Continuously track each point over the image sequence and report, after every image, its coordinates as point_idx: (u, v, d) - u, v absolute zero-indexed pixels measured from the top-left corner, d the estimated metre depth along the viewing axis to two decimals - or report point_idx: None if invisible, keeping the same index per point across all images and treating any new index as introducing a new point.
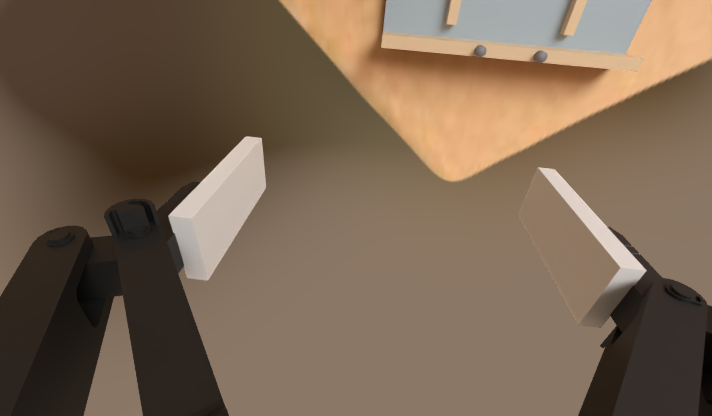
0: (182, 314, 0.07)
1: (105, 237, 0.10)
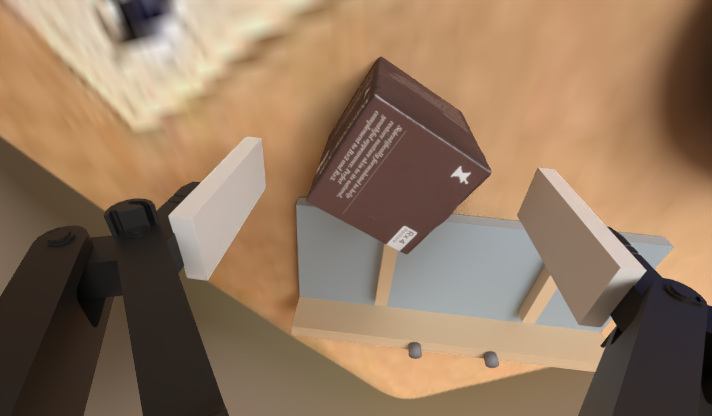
0: (182, 314, 0.07)
1: (105, 237, 0.10)
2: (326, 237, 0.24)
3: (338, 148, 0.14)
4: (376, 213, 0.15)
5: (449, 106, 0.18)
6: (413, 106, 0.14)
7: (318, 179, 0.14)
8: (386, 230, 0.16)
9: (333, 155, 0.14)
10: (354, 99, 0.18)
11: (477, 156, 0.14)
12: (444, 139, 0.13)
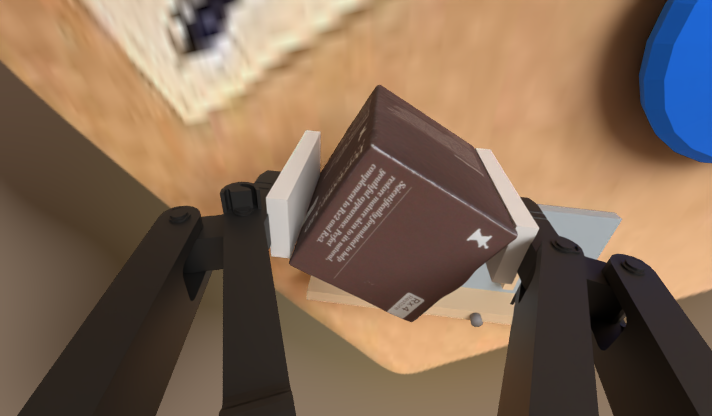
0: (267, 293, 0.08)
1: (210, 216, 0.11)
2: None
3: (326, 206, 0.11)
4: (374, 278, 0.12)
5: (460, 141, 0.15)
6: (419, 153, 0.11)
7: (303, 240, 0.12)
8: (386, 297, 0.13)
9: (320, 213, 0.11)
10: (348, 134, 0.15)
11: (499, 214, 0.11)
12: (459, 196, 0.10)
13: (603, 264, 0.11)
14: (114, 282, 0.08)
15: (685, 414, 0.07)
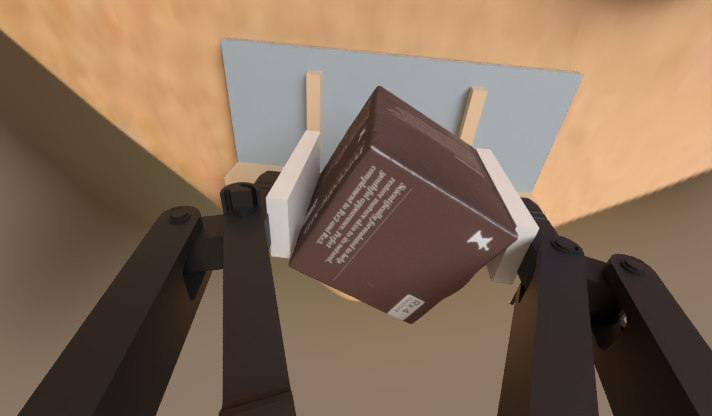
0: (267, 293, 0.08)
1: (210, 217, 0.11)
2: (254, 81, 0.25)
3: (326, 207, 0.11)
4: (374, 280, 0.12)
5: (460, 142, 0.15)
6: (419, 155, 0.11)
7: (302, 241, 0.12)
8: (386, 298, 0.13)
9: (320, 215, 0.11)
10: (348, 135, 0.15)
11: (500, 216, 0.11)
12: (459, 198, 0.10)
13: (603, 264, 0.11)
14: (114, 282, 0.08)
15: (685, 414, 0.07)
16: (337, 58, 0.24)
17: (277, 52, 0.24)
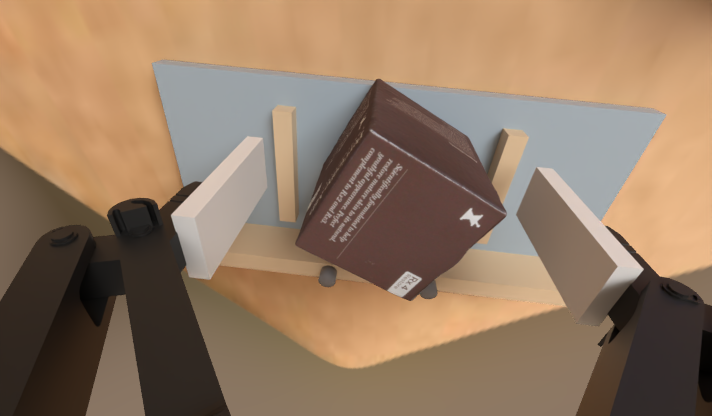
0: (184, 314, 0.07)
1: (108, 236, 0.10)
2: (203, 118, 0.18)
3: (329, 188, 0.12)
4: (374, 258, 0.13)
5: (455, 132, 0.16)
6: (415, 139, 0.12)
7: (308, 221, 0.13)
8: (386, 276, 0.14)
9: (324, 196, 0.12)
10: (349, 125, 0.16)
11: (490, 195, 0.12)
12: (451, 177, 0.11)
13: None
14: None
15: None
16: (316, 89, 0.17)
17: (232, 80, 0.17)
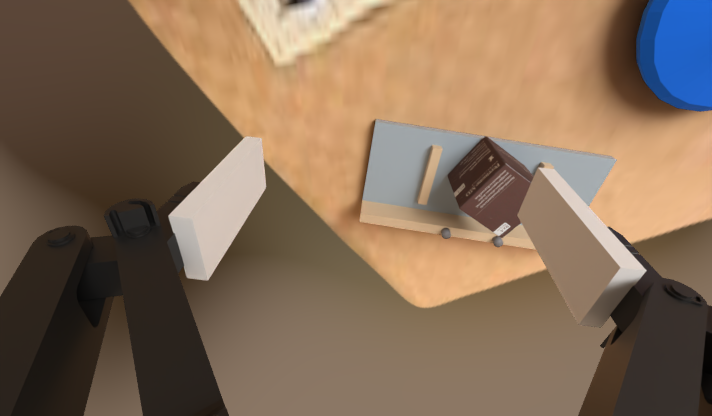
0: (182, 314, 0.07)
1: (105, 237, 0.10)
2: (391, 148, 0.36)
3: (482, 184, 0.30)
4: (492, 215, 0.31)
5: (520, 162, 0.35)
6: (516, 167, 0.30)
7: (468, 198, 0.31)
8: (495, 224, 0.32)
9: (479, 187, 0.30)
10: (472, 157, 0.34)
11: None
12: None
13: None
14: None
15: None
16: (453, 138, 0.35)
17: (413, 132, 0.35)
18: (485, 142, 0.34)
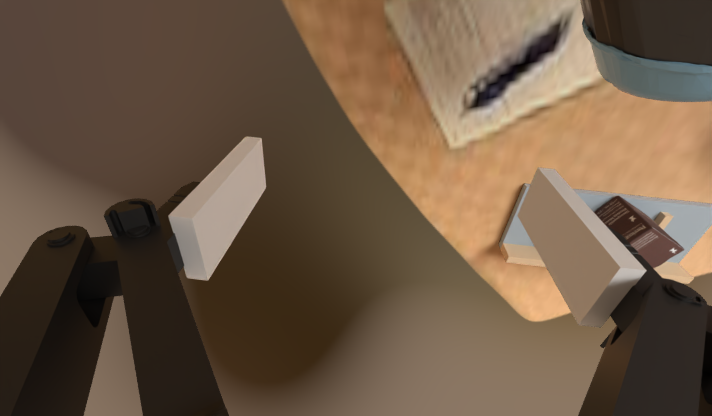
0: (182, 314, 0.07)
1: (105, 237, 0.10)
2: None
3: (630, 241, 0.39)
4: None
5: None
6: (655, 226, 0.39)
7: None
8: None
9: None
10: (607, 212, 0.43)
11: (677, 243, 0.39)
12: (670, 239, 0.38)
13: None
14: None
15: None
16: (589, 197, 0.44)
17: None
18: (619, 201, 0.42)
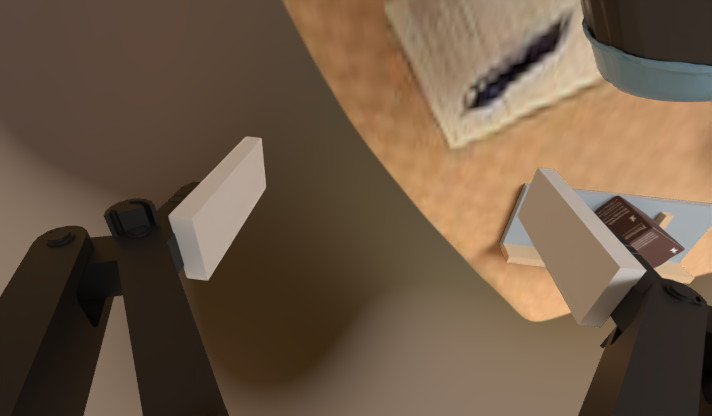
0: (182, 314, 0.07)
1: (105, 237, 0.10)
2: None
3: (630, 241, 0.39)
4: None
5: (646, 214, 0.43)
6: (656, 226, 0.39)
7: None
8: None
9: None
10: (607, 212, 0.43)
11: (678, 243, 0.39)
12: (671, 239, 0.38)
13: None
14: None
15: None
16: (590, 197, 0.44)
17: None
18: (620, 201, 0.42)
